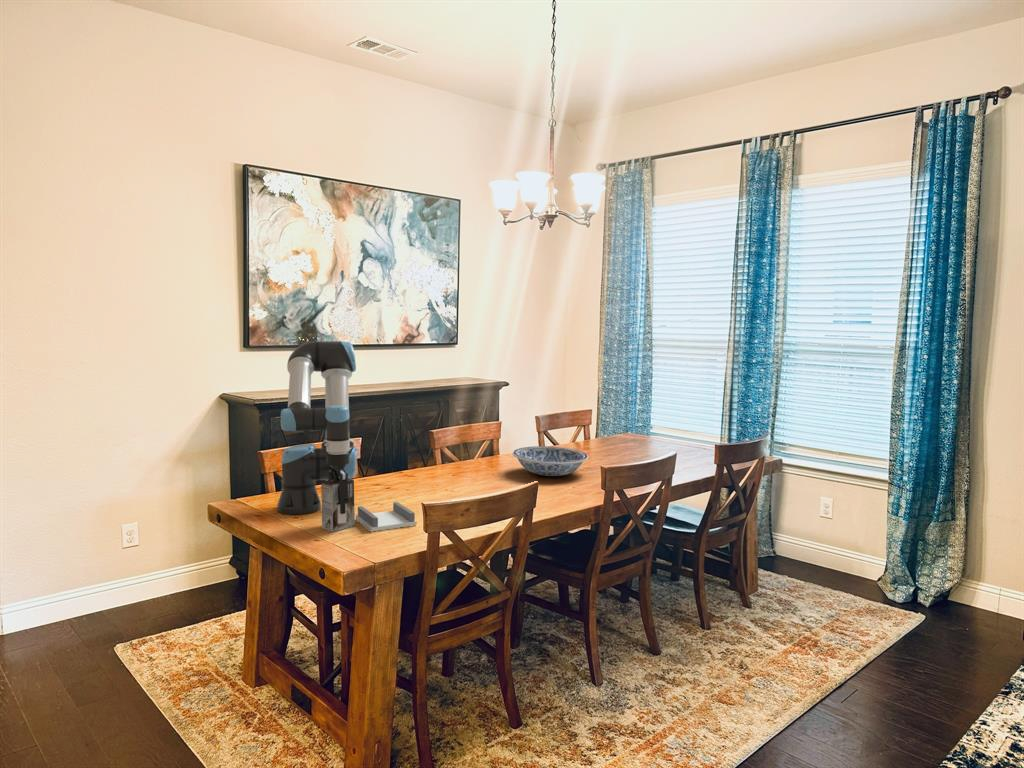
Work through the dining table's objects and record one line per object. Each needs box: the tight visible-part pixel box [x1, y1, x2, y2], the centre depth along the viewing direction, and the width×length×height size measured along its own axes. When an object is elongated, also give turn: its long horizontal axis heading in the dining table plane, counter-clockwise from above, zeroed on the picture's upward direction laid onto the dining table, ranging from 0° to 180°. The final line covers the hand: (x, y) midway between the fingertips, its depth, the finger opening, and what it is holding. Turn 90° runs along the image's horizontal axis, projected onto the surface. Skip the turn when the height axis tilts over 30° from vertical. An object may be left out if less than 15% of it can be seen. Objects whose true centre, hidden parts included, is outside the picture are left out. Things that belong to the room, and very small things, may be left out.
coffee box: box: [320, 478, 356, 533], centre depth 236 cm, size 9×6×16 cm
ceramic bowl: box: [512, 445, 589, 477], centre depth 321 cm, size 34×34×10 cm
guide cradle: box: [355, 501, 417, 533], centre depth 243 cm, size 16×16×4 cm
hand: (338, 519), depth 236 cm, fingers closed on coffee box, 8 cm apart
